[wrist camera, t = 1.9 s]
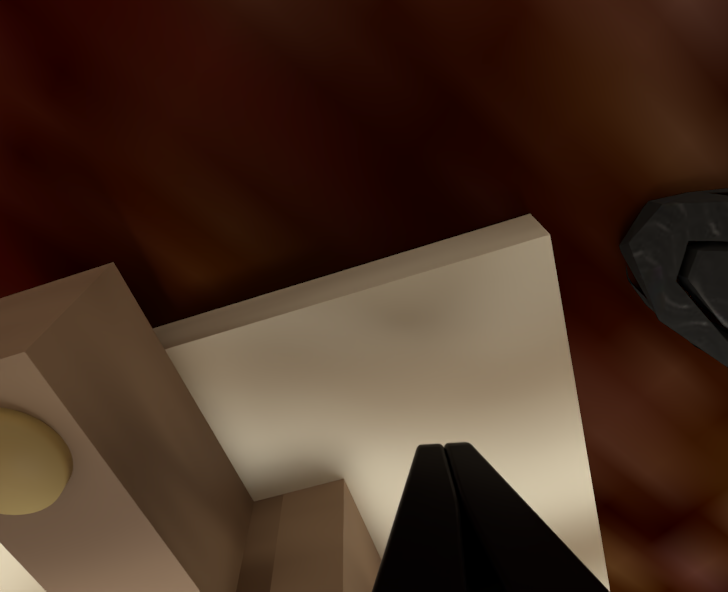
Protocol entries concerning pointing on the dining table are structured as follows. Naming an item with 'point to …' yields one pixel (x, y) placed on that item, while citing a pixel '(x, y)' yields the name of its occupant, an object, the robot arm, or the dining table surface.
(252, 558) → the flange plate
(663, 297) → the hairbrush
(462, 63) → the dining table surface
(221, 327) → the birch board
